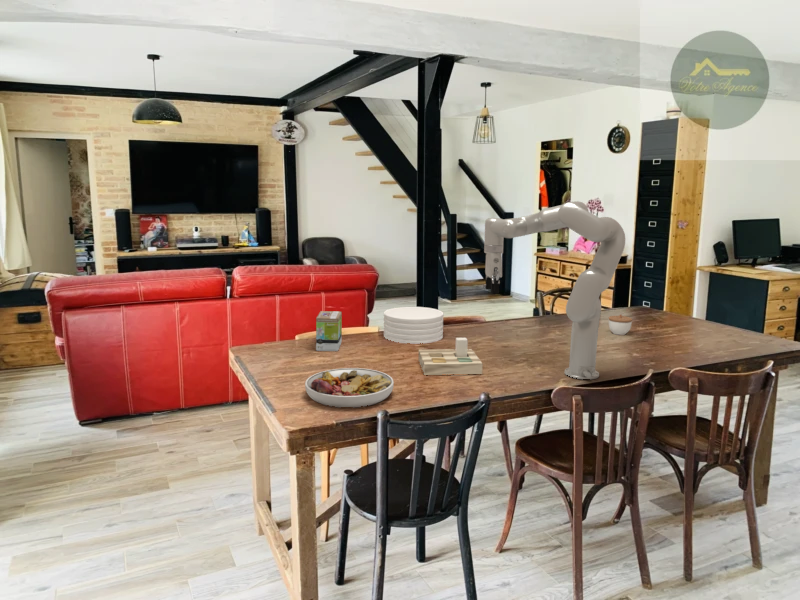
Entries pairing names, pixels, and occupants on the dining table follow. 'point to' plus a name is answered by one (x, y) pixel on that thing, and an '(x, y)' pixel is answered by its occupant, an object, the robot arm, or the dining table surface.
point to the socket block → (449, 362)
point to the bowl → (349, 387)
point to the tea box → (328, 331)
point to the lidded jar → (620, 324)
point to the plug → (461, 347)
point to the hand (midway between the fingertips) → (492, 291)
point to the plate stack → (413, 325)
